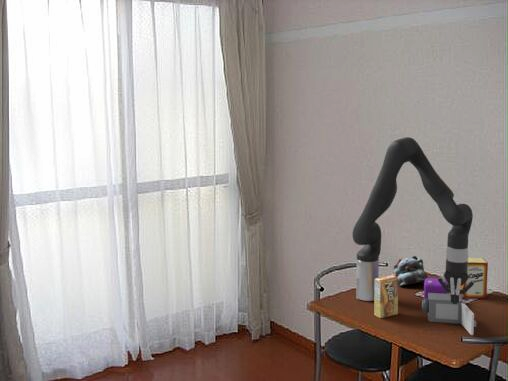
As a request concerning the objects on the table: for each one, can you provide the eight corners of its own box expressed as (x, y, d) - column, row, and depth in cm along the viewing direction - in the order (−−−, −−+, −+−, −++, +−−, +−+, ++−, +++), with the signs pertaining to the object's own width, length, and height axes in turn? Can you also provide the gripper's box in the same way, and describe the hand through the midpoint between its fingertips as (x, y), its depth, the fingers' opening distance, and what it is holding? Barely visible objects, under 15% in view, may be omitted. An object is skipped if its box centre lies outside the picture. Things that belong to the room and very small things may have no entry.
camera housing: (422, 321, 210) (423, 296, 208) (421, 314, 217) (422, 290, 215) (461, 323, 207) (462, 299, 205) (459, 316, 213) (460, 292, 212)
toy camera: (444, 295, 236) (445, 273, 234) (452, 307, 222) (453, 284, 221) (418, 295, 237) (419, 273, 235) (425, 307, 224) (426, 284, 222)
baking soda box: (481, 292, 238) (483, 257, 235) (486, 298, 232) (487, 261, 229) (459, 292, 239) (460, 257, 236) (463, 297, 233) (464, 261, 230)
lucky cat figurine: (392, 287, 248) (387, 257, 253) (400, 289, 258) (395, 260, 263) (425, 281, 241) (419, 250, 246) (432, 284, 251) (426, 254, 256)
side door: (476, 335, 196) (476, 313, 194) (470, 335, 196) (471, 314, 194) (465, 322, 206) (466, 302, 205) (460, 322, 206) (460, 302, 205)
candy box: (391, 310, 221) (391, 274, 219) (398, 314, 217) (398, 277, 215) (373, 315, 217) (373, 278, 215) (380, 318, 214) (380, 281, 211)
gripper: (436, 259, 198) (435, 304, 201) (476, 263, 193) (473, 309, 196) (438, 253, 205) (437, 297, 208) (476, 257, 199) (474, 302, 203)
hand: (454, 303), depth 202 cm, fingers closed
